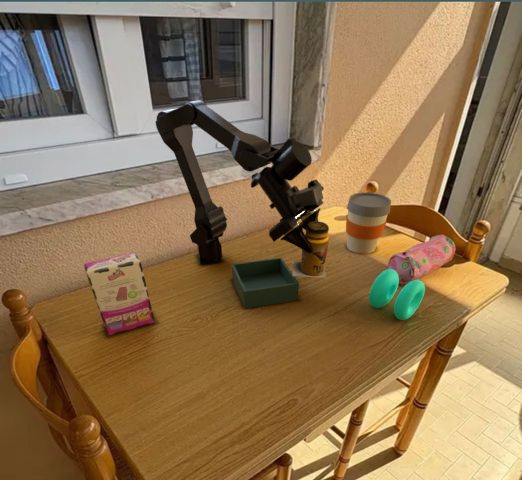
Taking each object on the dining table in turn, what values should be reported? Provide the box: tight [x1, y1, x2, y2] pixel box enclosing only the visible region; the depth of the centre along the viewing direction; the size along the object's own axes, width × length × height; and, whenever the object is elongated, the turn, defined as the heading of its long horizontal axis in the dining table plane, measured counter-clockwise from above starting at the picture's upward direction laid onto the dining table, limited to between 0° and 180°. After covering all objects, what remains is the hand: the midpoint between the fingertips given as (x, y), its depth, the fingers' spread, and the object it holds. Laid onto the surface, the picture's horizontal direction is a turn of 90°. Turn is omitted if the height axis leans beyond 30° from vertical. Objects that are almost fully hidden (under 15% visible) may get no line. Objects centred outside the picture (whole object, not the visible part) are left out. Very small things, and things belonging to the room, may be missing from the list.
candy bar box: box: [83, 252, 156, 336], centre depth 85 cm, size 11×5×16 cm, turn 118°
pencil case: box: [387, 234, 456, 285], centre depth 106 cm, size 21×9×9 cm, turn 127°
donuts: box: [368, 268, 426, 321], centre depth 92 cm, size 10×10×10 cm
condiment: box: [291, 220, 330, 279], centre depth 93 cm, size 7×8×12 cm
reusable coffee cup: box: [345, 192, 392, 255], centre depth 116 cm, size 13×13×15 cm
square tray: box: [230, 257, 300, 309], centre depth 100 cm, size 14×14×5 cm
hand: (317, 247), depth 92 cm, fingers closed on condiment, 6 cm apart
